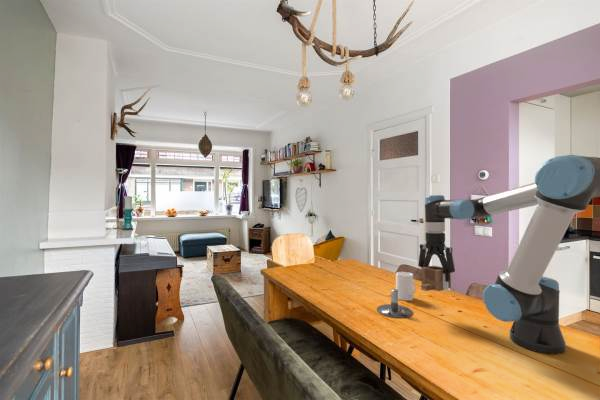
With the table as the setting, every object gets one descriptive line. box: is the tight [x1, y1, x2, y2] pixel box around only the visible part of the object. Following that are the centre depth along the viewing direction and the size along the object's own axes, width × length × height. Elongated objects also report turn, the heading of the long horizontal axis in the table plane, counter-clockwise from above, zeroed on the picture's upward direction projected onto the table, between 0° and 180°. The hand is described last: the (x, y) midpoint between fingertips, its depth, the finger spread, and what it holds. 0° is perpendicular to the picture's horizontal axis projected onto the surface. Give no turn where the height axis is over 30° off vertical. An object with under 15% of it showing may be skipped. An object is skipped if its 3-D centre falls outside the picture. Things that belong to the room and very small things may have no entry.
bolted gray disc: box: [376, 288, 414, 319], centre depth 135 cm, size 15×15×9 cm
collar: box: [420, 265, 452, 292], centre depth 128 cm, size 12×8×8 cm, turn 122°
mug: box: [395, 271, 417, 302], centre depth 151 cm, size 12×8×12 cm
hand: (436, 286), depth 129 cm, fingers closed on collar, 8 cm apart
